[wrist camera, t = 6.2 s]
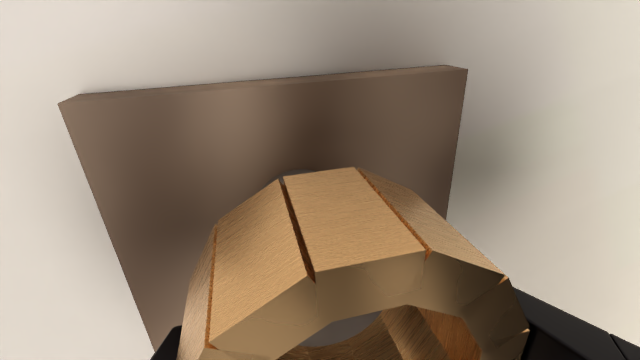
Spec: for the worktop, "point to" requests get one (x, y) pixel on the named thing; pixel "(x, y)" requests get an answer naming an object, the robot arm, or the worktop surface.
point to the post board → (250, 161)
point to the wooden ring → (346, 278)
